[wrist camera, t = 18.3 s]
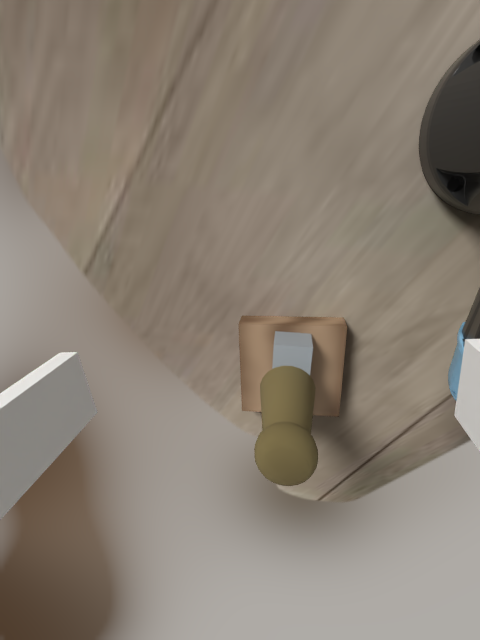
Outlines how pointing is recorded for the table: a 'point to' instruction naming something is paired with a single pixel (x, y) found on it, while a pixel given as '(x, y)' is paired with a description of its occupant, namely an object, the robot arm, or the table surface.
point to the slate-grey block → (293, 350)
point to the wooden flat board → (324, 365)
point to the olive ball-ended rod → (286, 426)
